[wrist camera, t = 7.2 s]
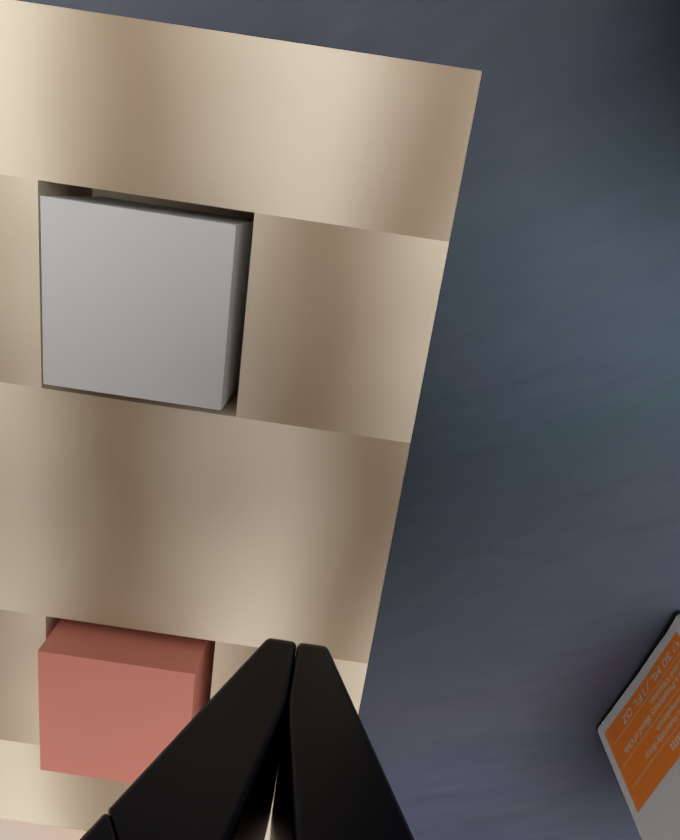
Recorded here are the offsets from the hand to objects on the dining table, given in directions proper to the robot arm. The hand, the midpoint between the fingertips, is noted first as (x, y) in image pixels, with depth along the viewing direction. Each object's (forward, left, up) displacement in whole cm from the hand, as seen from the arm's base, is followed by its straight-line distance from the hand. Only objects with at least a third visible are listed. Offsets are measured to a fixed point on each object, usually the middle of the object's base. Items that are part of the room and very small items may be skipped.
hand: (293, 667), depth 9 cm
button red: (+5, +9, -10) cm, 15 cm away
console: (+5, +3, -12) cm, 13 cm away
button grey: (+5, -3, -11) cm, 12 cm away
